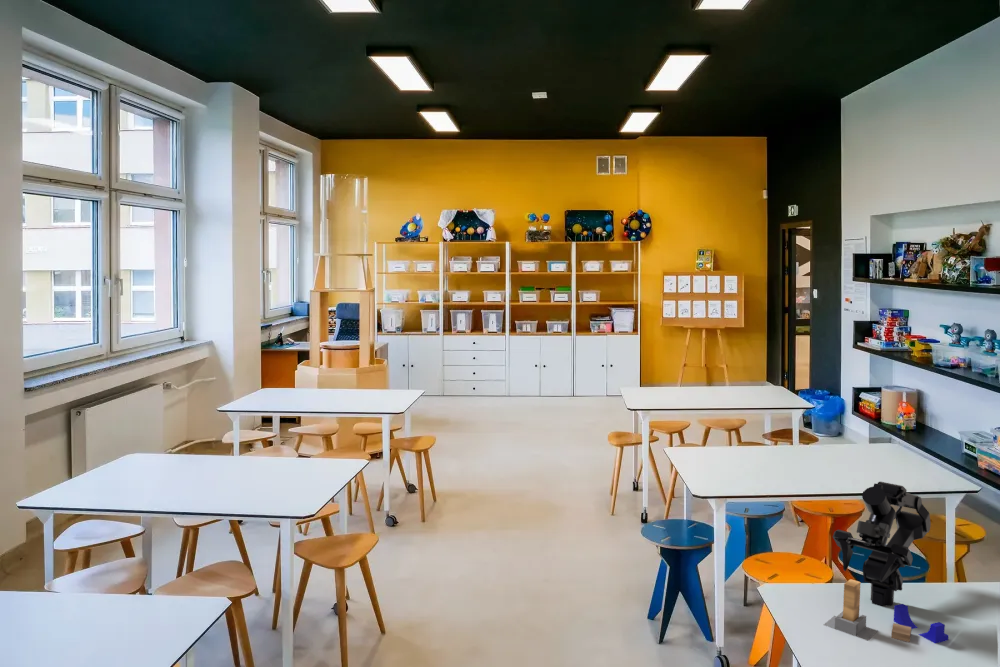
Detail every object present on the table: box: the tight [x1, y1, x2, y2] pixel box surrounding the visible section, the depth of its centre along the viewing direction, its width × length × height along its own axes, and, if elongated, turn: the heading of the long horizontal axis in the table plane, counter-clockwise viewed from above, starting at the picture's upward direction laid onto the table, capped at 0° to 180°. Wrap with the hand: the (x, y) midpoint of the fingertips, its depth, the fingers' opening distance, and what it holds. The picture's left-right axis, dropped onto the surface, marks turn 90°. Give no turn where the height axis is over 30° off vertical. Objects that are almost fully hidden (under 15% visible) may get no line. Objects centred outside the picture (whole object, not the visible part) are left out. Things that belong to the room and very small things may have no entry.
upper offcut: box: [890, 622, 912, 643], centre depth 183 cm, size 5×4×2 cm
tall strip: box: [842, 578, 862, 622], centre depth 187 cm, size 4×2×12 cm, turn 133°
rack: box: [823, 611, 879, 641], centre depth 187 cm, size 7×11×4 cm, turn 43°
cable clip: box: [893, 603, 949, 644], centre depth 186 cm, size 12×4×6 cm, turn 21°
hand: (862, 575), depth 191 cm, fingers open, 9 cm apart
